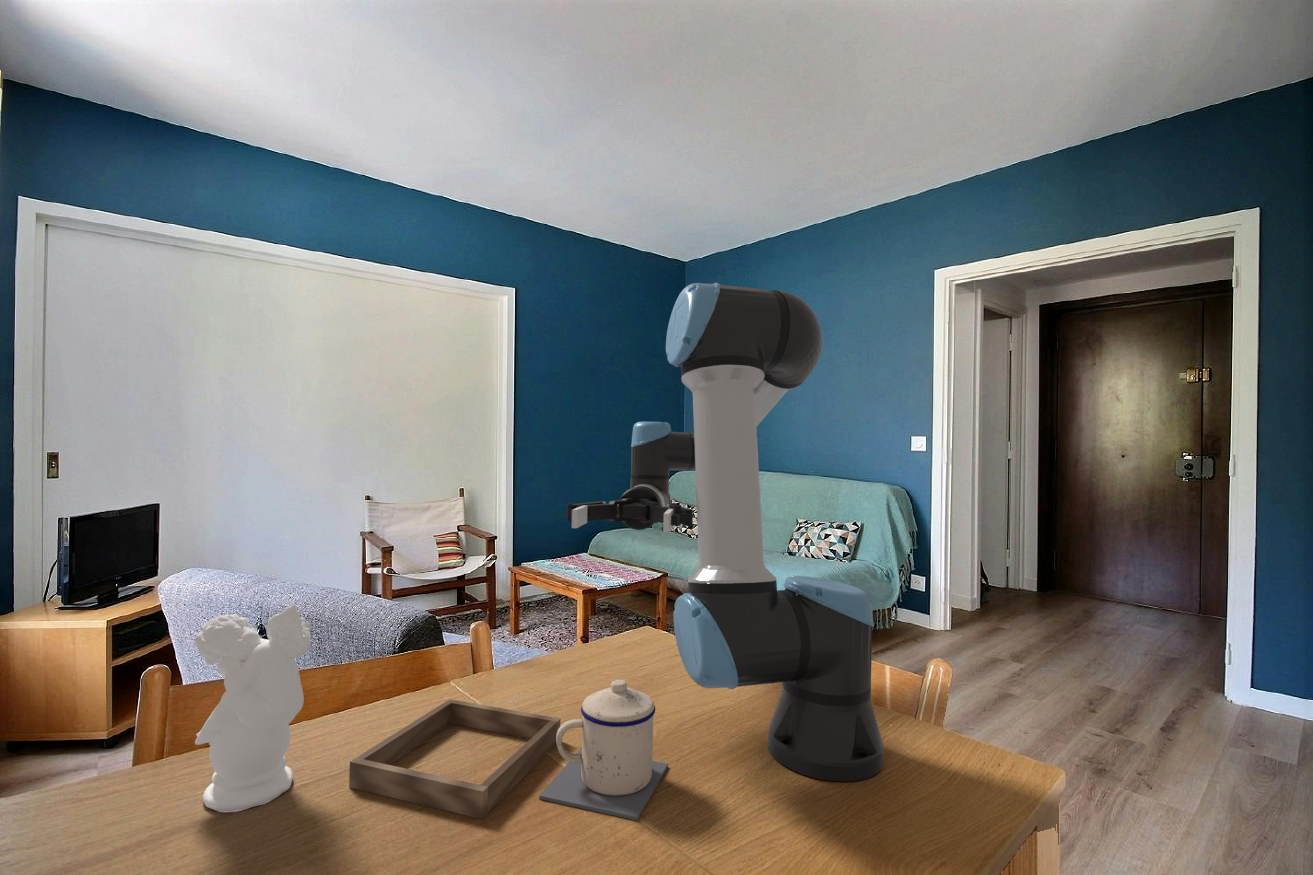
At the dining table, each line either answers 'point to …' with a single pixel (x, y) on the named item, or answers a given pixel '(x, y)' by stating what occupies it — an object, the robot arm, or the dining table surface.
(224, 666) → the cherub figurine
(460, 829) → the dining table surface
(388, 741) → the walnut box
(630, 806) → the charcoal mat
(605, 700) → the teacup with lid
